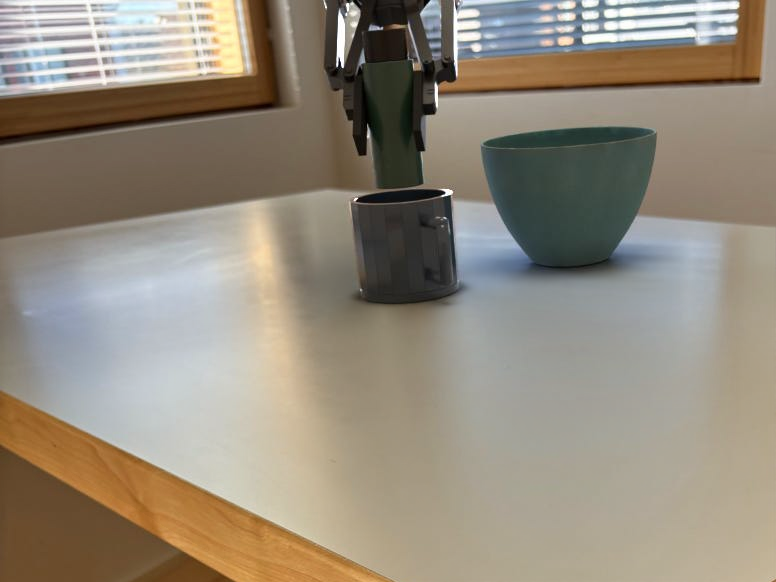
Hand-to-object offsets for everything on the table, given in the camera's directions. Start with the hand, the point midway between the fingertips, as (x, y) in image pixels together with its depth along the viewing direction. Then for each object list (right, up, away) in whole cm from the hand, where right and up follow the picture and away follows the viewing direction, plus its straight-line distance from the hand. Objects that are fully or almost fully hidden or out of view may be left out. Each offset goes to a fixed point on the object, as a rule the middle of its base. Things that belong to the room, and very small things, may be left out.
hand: (389, 142), depth 94 cm
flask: (0, -2, +5) cm, 6 cm away
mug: (+2, -11, +9) cm, 14 cm away
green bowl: (+18, -4, +19) cm, 26 cm away
